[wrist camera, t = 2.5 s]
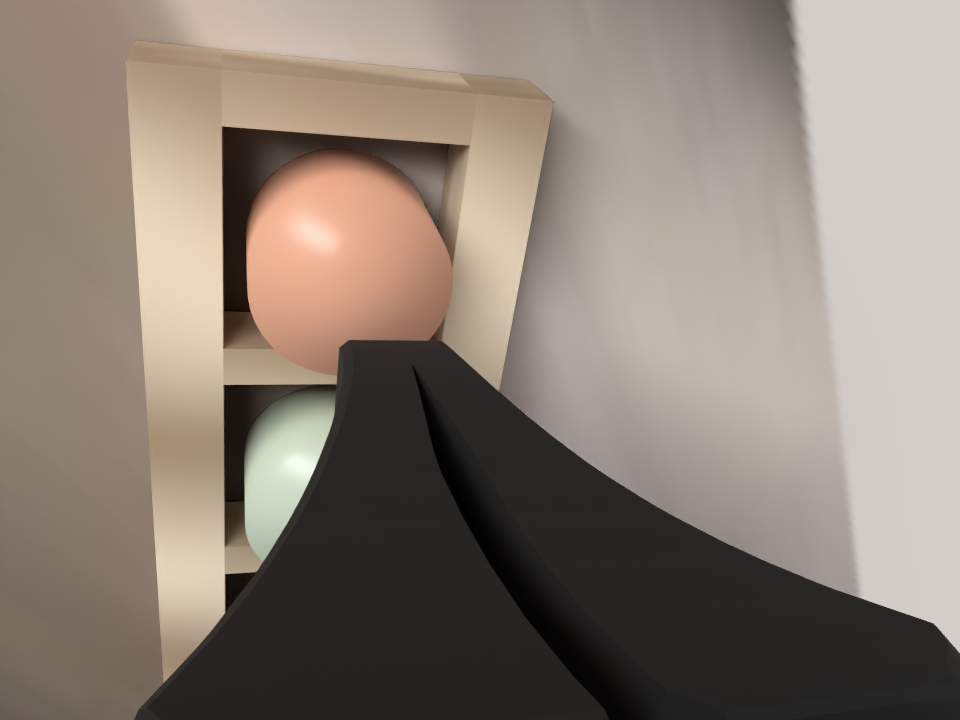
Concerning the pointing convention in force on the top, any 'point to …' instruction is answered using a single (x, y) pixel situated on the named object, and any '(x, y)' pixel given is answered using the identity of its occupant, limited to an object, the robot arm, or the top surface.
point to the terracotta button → (343, 258)
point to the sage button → (283, 460)
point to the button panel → (234, 335)
